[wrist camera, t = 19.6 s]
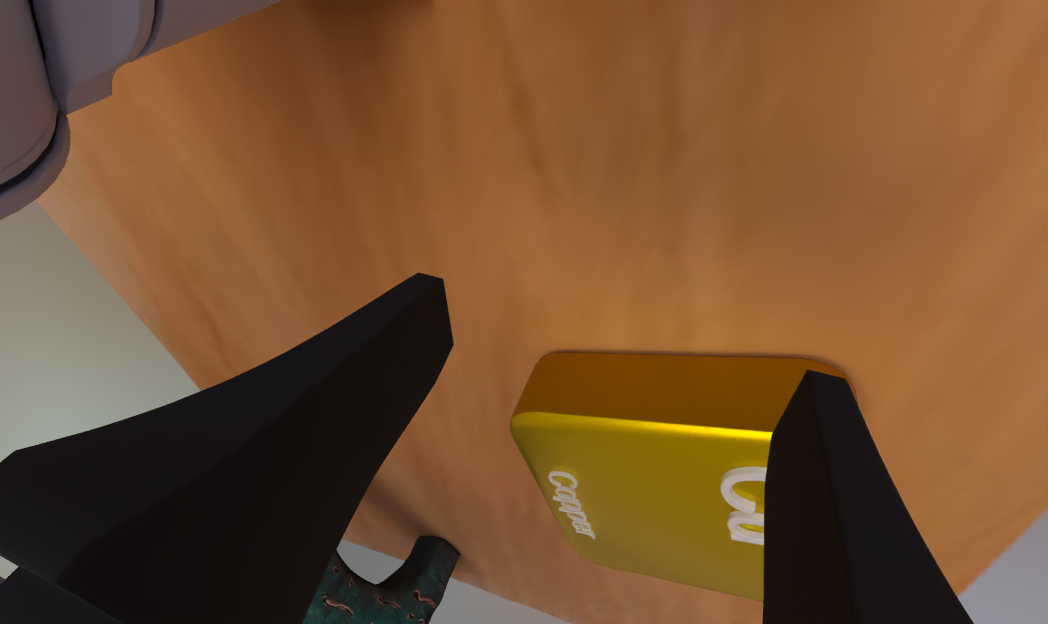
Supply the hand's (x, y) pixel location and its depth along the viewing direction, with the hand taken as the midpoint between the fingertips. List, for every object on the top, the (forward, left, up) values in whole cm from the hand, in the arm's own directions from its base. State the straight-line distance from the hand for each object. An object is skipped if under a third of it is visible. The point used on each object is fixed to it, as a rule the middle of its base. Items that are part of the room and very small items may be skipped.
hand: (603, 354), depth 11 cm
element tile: (+3, -18, -11) cm, 21 cm away
